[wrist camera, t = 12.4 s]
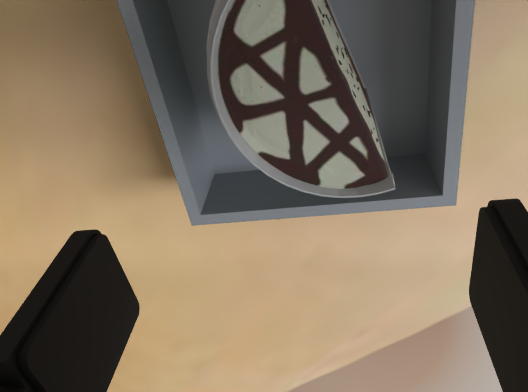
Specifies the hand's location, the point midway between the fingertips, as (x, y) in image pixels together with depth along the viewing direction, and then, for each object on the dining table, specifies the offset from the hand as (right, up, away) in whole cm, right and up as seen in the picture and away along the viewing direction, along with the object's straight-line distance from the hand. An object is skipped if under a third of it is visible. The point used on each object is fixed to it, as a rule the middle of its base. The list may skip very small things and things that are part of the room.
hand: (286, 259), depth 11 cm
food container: (+1, +11, +16) cm, 19 cm away
